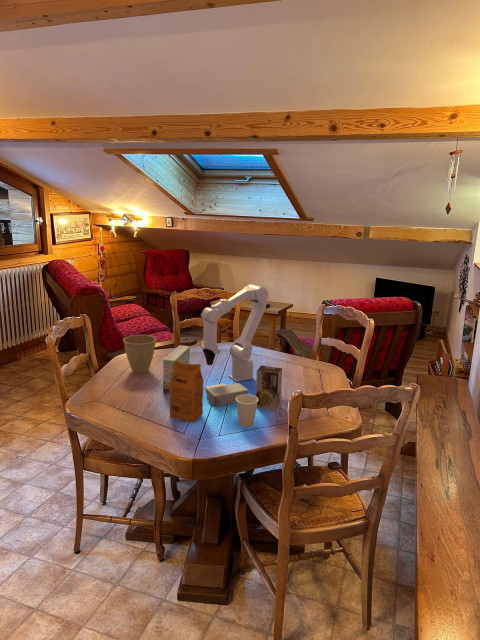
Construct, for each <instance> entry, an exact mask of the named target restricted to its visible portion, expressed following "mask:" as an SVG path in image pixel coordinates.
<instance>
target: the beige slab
mask: <svg viewBox="0 0 480 640" xmlns="http://www.w3.org/2000/svg"><path fill="white" fill-rule="evenodd" d="M248 391H249V390H248V388H247V387H245V386H243V385H242V384H241V383H240V382H236V383H232V384H225V386H220V387H214V388H209V389H207V391H206V400H207V401H208V402H209V403H210V404H211V405H213V407H219V406H225V405H229V404H235V403H237V402H236V397H237V396H239V395H243V394H249V393H248Z"/></svg>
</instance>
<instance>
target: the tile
mask: <svg viewBox="0 0 480 640" xmlns="http://www.w3.org/2000/svg"><path fill="white" fill-rule="evenodd" d="M225 385H226V384H225V383H219V384H213V385H207V386H205V387H204V389H205V392H207V389H209V388H214V387H220V386H225Z"/></svg>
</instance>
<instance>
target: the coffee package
mask: <svg viewBox="0 0 480 640" xmlns="http://www.w3.org/2000/svg"><path fill="white" fill-rule="evenodd" d="M201 367H202V365H201V364H200V363H189V364H184V363H182V362H180V361H178V360H175V362H174V366H173V373H172V378H171V383H170V393H169V399H168V401H169V418H170V419H177V420H178V421H180V422H183V423H192V424H193V423H195V422H196V421H197V420H199V419H200V417H202V416H203V414H204V409H203V407H204V403H203V398H204V377H203V374H202V371H201Z"/></svg>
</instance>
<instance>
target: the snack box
mask: <svg viewBox="0 0 480 640" xmlns="http://www.w3.org/2000/svg"><path fill="white" fill-rule="evenodd" d="M190 348H191V347H190V346H189V345H178V346H177V347H176V348H175V349H174V350H173V351H171V352H170V353H169V354H168V355H167V356H165V358H163V360H162V364H163V365H162V367H163V368H162V369H163V370H162V371H163V372H162V373H163V375H162V393H167V394H170V383H171V378H172V373H173V366H174V362H175V360H178V361H180V362H182V363H184V364H190V354H191V353H190V352H191V350H190Z"/></svg>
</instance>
